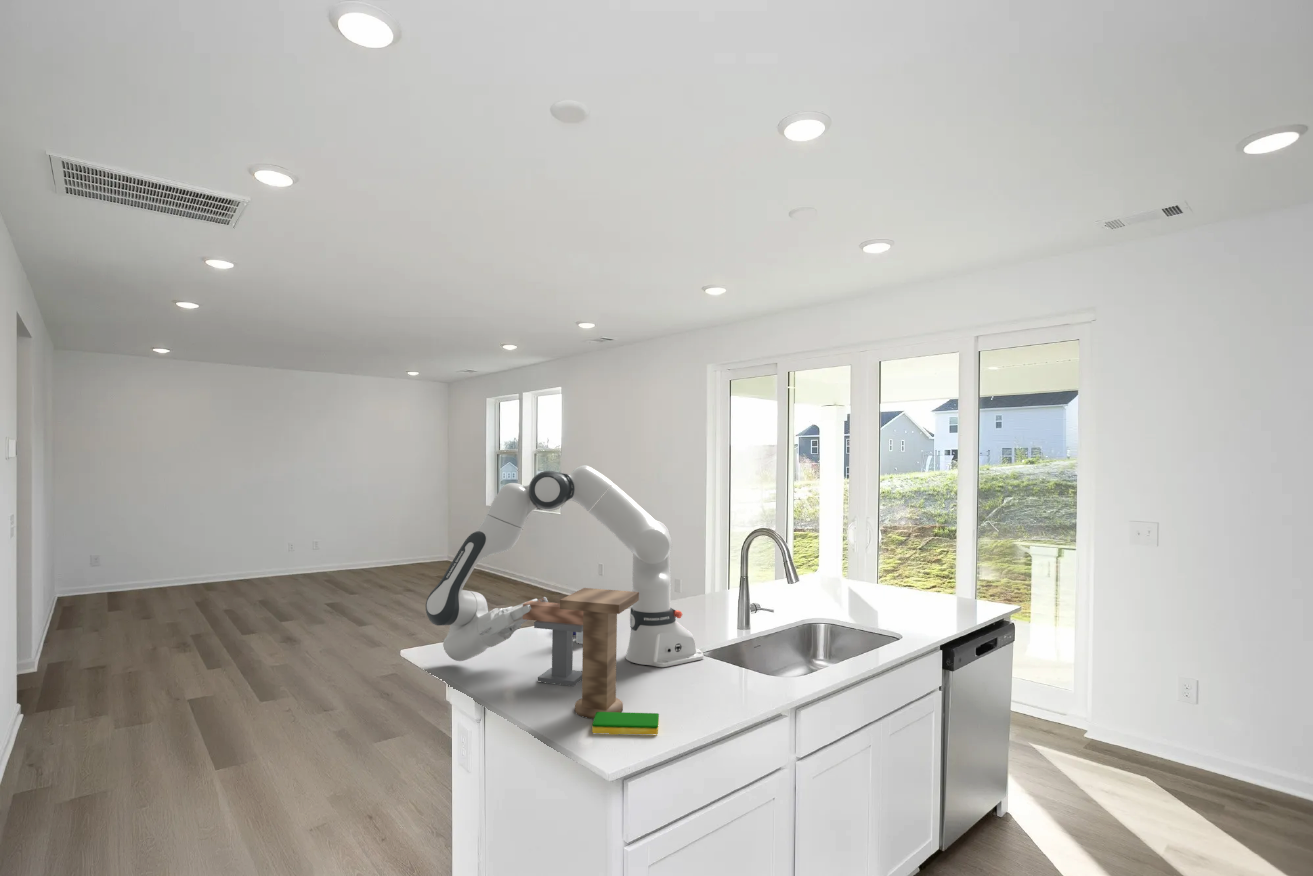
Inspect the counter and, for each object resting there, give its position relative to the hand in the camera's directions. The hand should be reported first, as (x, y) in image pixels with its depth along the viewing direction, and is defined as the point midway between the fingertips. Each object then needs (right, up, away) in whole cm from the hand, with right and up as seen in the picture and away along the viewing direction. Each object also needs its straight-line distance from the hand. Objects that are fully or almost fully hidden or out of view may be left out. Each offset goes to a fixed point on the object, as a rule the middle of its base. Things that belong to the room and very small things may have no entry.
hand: (537, 603), depth 177 cm
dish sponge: (+25, -19, -32) cm, 45 cm away
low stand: (+7, -19, -2) cm, 20 cm away
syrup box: (+10, -20, +32) cm, 39 cm away
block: (+6, -4, -2) cm, 7 cm away
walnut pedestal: (+18, -19, -22) cm, 34 cm away
